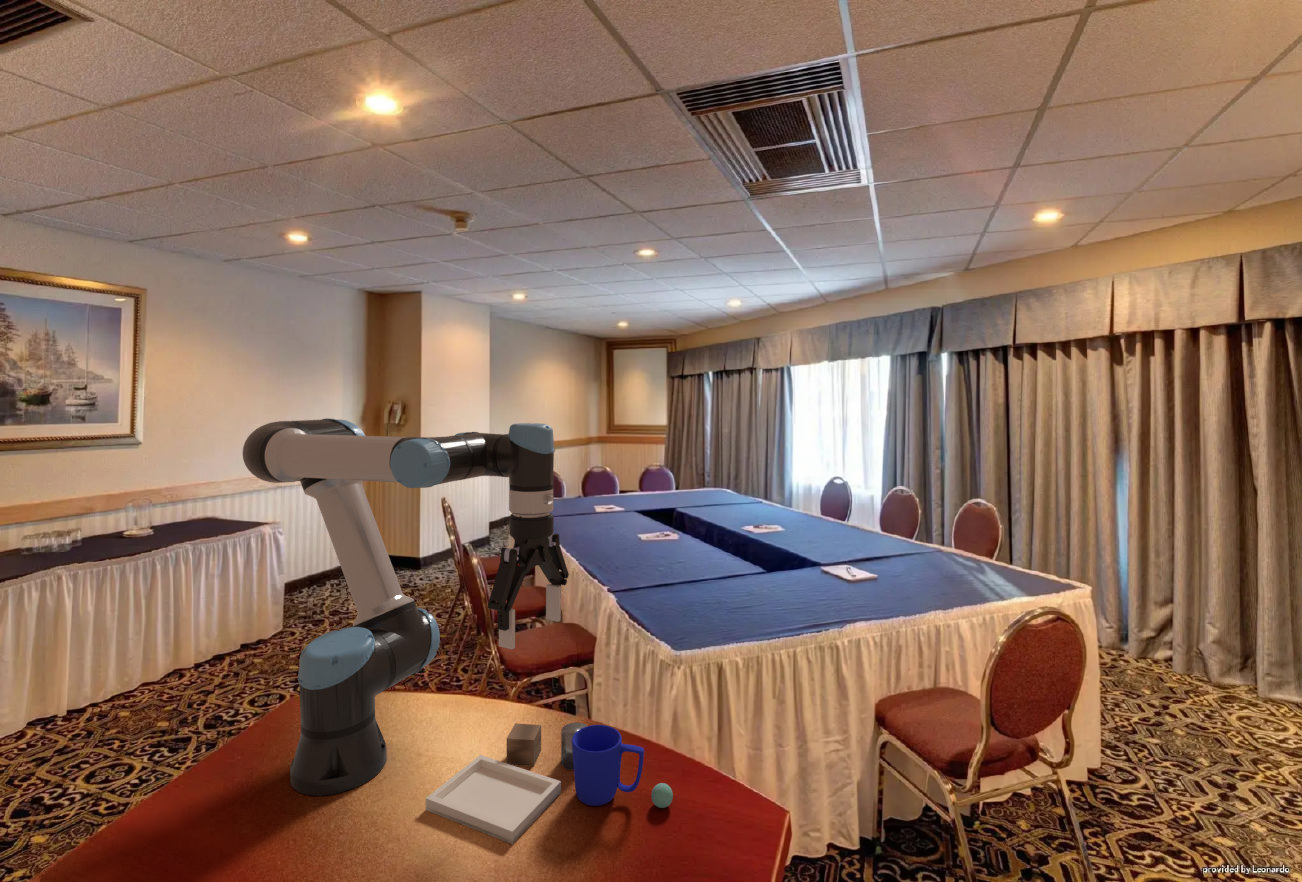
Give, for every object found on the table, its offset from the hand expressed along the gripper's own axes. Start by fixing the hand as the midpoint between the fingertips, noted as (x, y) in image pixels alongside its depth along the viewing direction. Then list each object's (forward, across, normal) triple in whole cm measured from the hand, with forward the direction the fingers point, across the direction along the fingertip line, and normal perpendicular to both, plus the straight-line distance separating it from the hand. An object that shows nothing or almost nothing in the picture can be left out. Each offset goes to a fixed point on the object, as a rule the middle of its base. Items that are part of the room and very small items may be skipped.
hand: (531, 632), depth 107 cm
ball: (+25, +1, -25) cm, 35 cm away
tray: (+25, -10, 0) cm, 27 cm away
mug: (+25, -1, -16) cm, 30 cm away
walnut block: (+25, +2, +3) cm, 25 cm away
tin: (+25, +5, -6) cm, 26 cm away
